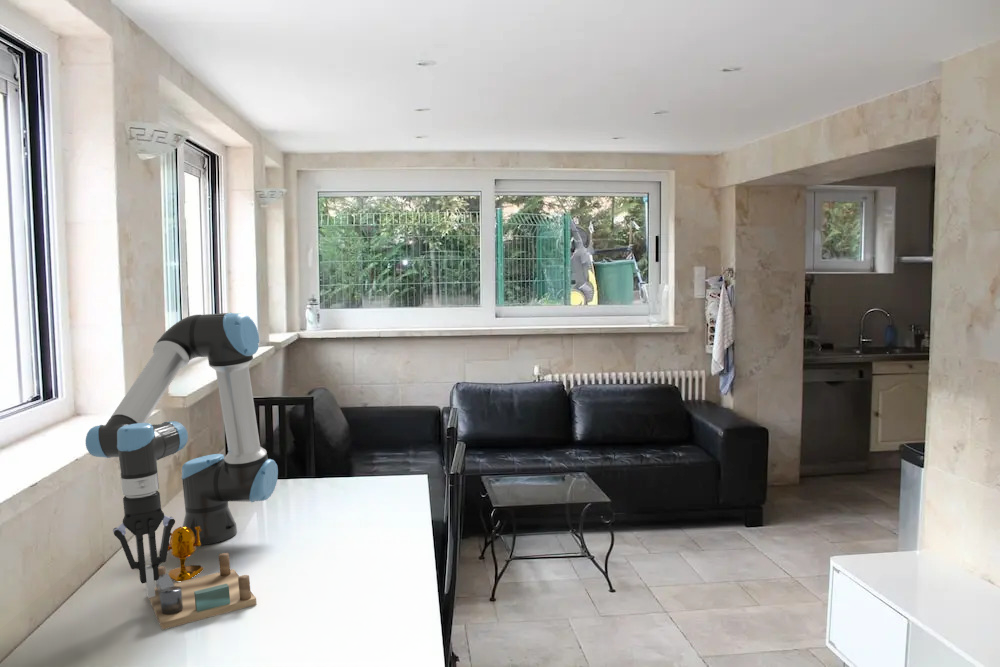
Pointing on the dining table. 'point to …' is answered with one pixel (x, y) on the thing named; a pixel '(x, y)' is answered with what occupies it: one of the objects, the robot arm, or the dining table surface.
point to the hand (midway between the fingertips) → (151, 595)
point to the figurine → (184, 552)
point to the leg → (169, 595)
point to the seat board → (190, 600)
